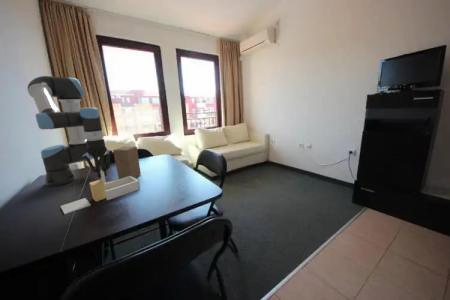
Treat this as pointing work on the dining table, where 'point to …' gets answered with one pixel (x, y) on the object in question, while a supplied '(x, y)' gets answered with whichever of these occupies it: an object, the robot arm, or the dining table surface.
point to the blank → (98, 190)
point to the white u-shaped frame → (121, 187)
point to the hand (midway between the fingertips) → (103, 182)
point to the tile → (75, 206)
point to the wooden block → (127, 162)
